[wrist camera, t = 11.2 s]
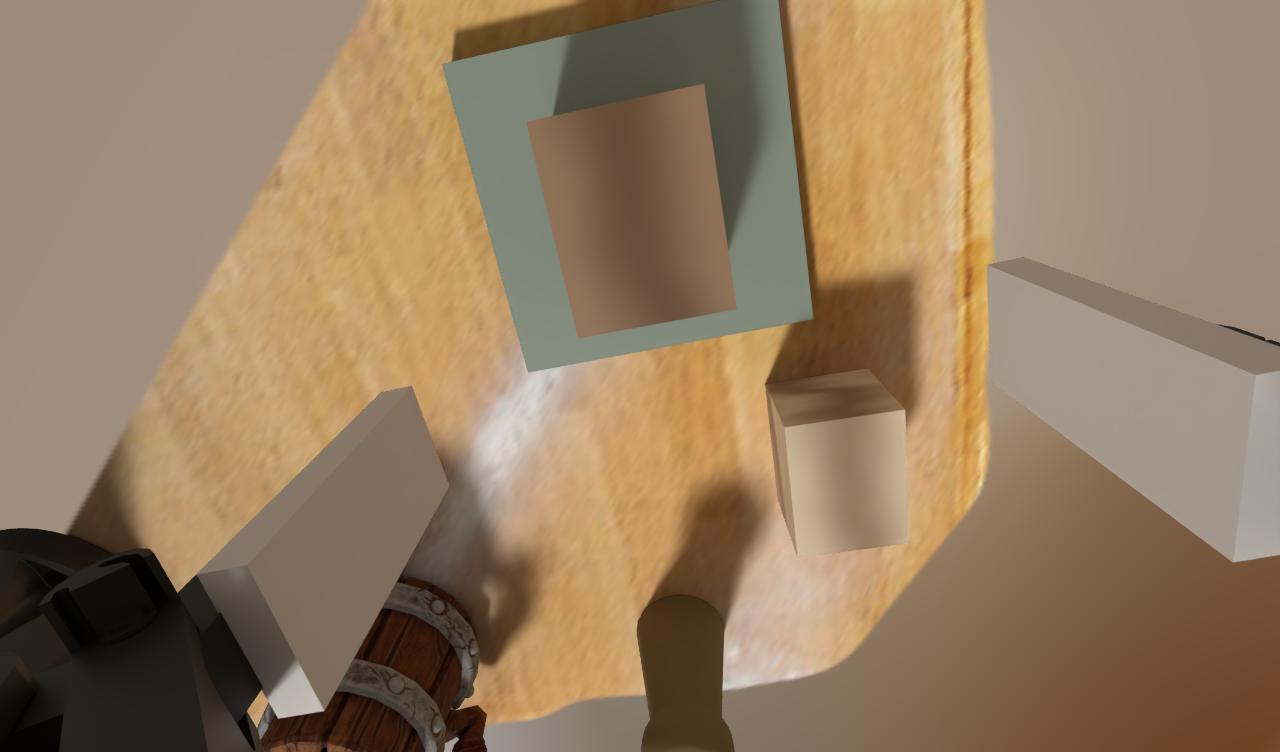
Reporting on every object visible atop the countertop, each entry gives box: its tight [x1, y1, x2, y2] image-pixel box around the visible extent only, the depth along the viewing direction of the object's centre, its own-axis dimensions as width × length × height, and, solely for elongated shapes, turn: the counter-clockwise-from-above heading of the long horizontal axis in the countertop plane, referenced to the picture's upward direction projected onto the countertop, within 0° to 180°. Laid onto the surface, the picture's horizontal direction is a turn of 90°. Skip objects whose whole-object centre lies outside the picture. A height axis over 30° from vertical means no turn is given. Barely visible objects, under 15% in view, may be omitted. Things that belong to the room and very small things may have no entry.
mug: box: [257, 576, 487, 752], centre depth 40 cm, size 12×14×15 cm
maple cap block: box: [765, 368, 909, 558], centre depth 37 cm, size 6×8×6 cm
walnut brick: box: [526, 84, 737, 338], centre depth 30 cm, size 7×9×7 cm
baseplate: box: [442, 0, 813, 372], centre depth 34 cm, size 16×16×2 cm
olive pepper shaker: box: [637, 595, 735, 752], centre depth 40 cm, size 6×6×11 cm
